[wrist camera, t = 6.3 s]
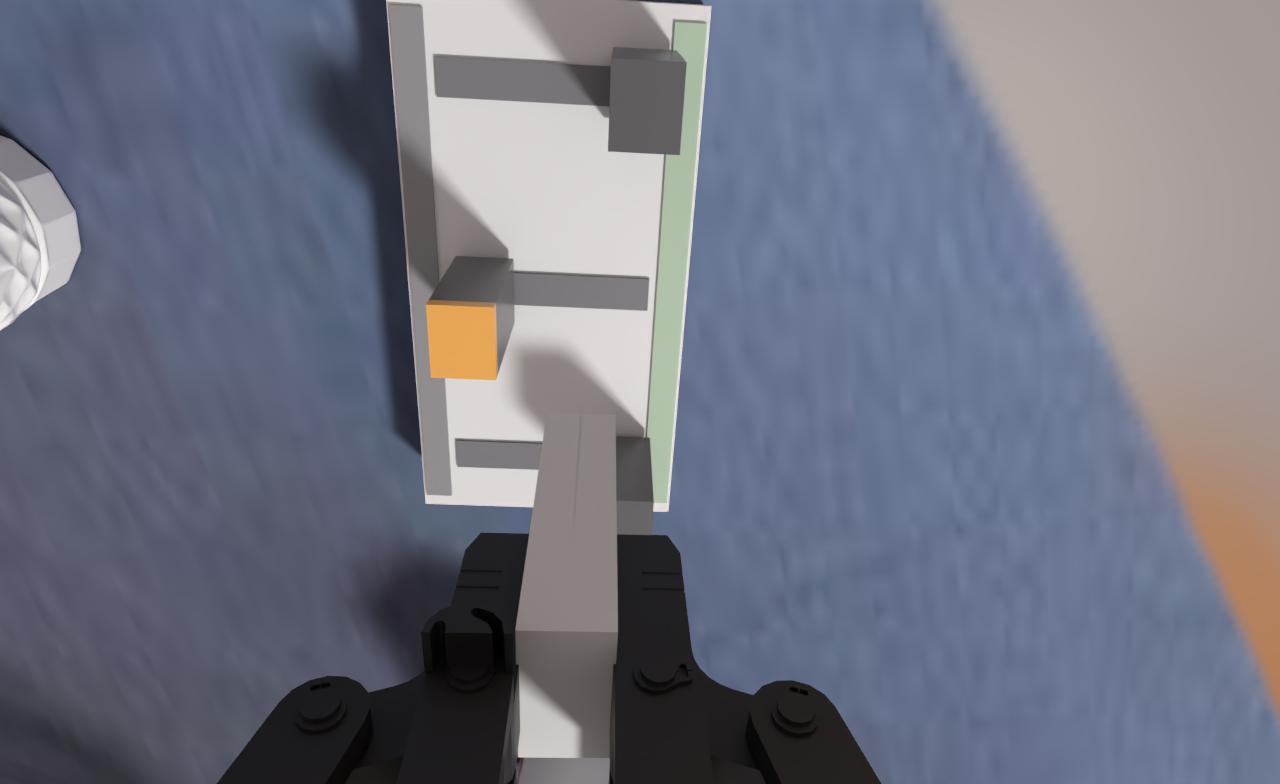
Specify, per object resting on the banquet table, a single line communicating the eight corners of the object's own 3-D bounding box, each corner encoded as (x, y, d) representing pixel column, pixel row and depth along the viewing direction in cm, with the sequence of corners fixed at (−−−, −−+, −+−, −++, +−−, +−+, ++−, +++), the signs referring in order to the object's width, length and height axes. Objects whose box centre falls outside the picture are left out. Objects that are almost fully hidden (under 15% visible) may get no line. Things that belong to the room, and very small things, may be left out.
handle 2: (598, 435, 31) (595, 499, 27) (649, 437, 31) (653, 502, 28) (596, 487, 32) (593, 556, 28) (646, 489, 32) (649, 557, 29)
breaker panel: (404, -14, 27) (384, -14, 24) (704, 4, 27) (711, 6, 25) (438, 470, 35) (425, 505, 33) (665, 478, 36) (668, 513, 33)
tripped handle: (455, 256, 28) (425, 304, 24) (513, 258, 28) (493, 307, 24) (459, 320, 29) (430, 377, 25) (514, 322, 29) (496, 380, 25)
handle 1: (612, 46, 25) (611, 58, 21) (677, 50, 25) (686, 62, 21) (609, 126, 26) (607, 151, 22) (671, 130, 26) (679, 155, 22)
